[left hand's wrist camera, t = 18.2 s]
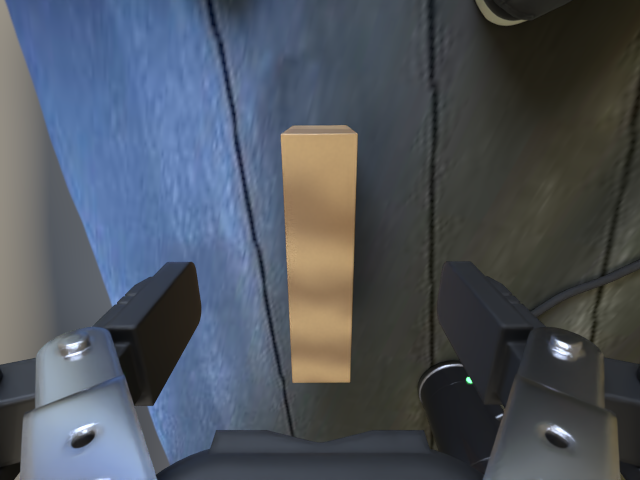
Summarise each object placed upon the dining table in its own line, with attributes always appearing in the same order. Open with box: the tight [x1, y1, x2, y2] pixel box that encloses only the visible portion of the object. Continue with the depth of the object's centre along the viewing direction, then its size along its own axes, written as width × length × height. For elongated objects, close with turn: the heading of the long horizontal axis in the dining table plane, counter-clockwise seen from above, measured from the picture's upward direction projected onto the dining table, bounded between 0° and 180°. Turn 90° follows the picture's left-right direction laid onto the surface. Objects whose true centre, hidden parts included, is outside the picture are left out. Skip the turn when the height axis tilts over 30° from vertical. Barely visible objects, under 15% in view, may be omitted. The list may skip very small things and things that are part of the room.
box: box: [281, 125, 358, 383], centre depth 36 cm, size 24×6×12 cm, turn 0°
